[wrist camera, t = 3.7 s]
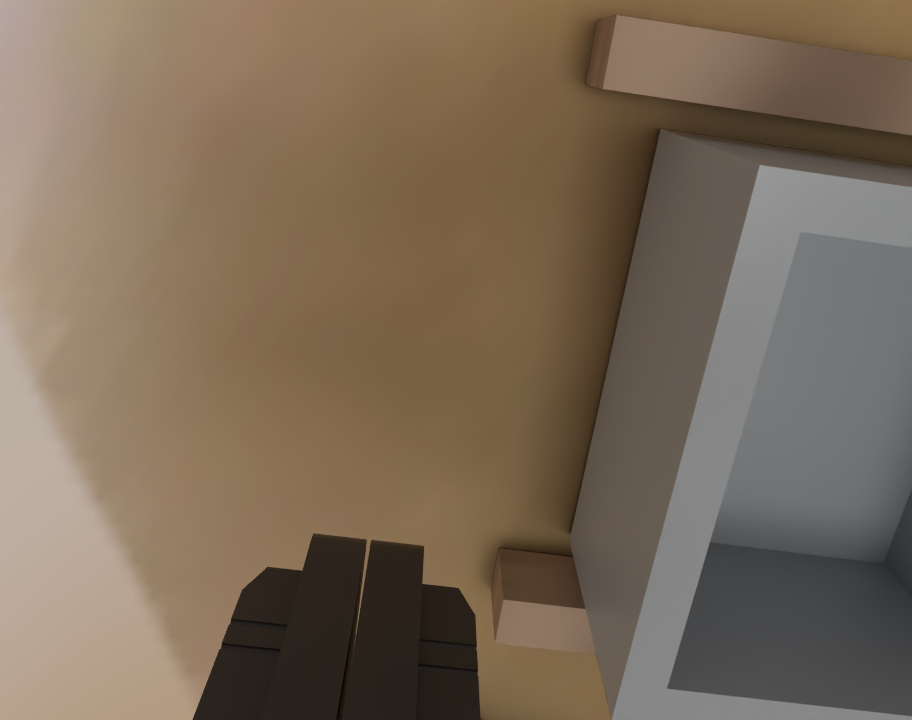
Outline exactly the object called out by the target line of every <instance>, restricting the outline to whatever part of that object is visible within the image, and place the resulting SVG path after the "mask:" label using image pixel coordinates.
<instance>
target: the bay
mask: <svg viewBox="0 0 912 720" xmlns="http://www.w3.org/2000/svg"><path fill="white" fill-rule="evenodd" d="M585 85H588V86H592V87H596V88H601V89H606V90H613V91H619V92H626V93H633V94H639V95H646V96H653V97H659V98H666V99H673V100H679V101H686V102H693V103H699V104H706V105H713V106H719V107H726V108H733V109H739V110H746V111H753V112H759V113H766V114H773V115H779V116H786V117H793V118H799V119H806V120H813V121H819V122H826V123H833V124H839V125H846V126H853V127H859V128H866V129H873V130H879V131H886V132H893V133H899V134H906V135H912V61H911V60H904V59H898V58H891V57H885V56H878V55H872V54H865V53H859V52H853V51H846V50H840V49H833V48H827V47H820V46H814V45H807V44H801V43H794V42H788V41H782V40H775V39H769V38H762V37H756V36H749V35H743V34H736V33H730V32H723V31H717V30H711V29H704V28H698V27H691V26H685V25H678V24H672V23H665V22H659V21H652V20H646V19H640V18H633V17H627V16H620V15H615V16H611V17H607V18H602V19H598V20H597V25H596V31H595V36H594V41H593V47H592V52H591V57H590V63H589V68H588V74H587V79H586V84H585ZM491 593H492V608H493V623H494V637H495V644H504V645H513V646H522V647H530V648H539V649H548V650H557V651H565V652H574V653H583V654H592V655H596V651H595V647H594V643H593V639H592V634H591V630H590V626H589V622H588V617H587V613H586V609H585V605H584V600H583V596H582V592H581V588H580V584H579V579H578V575H577V571H576V567H575V562H574V558H573V557H569V556H561V555H552V554H544V553H536V552H527V551H519V550H510V549H502V548H499V550H498V555H497V561H496V566H495V571H494V577H493V582H492V587H491Z"/></svg>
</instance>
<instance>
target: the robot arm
mask: <svg viewBox="0 0 912 720" xmlns="http://www.w3.org/2000/svg"><path fill="white" fill-rule="evenodd" d="M366 543H367V540H366V539H357V538H348V537H340V536H331V535H322V534H313V536H312V539H311V543H310V546H309V550H308V553H307V557H306V560H305V564H304V567H303V571H299V570H290V569H281V568H273V567H267V568H266V569H265V570H264V571H263V572H262V573H260V574H259V575H258V576H257V577H256V578H255V579H254V580H253V581H252V582H250V583H249V584H248V585H247V586H246V587H245V588H244V589H243V590H242V592H241V594H240V597H239V600H238V602H237V605H236V608H235V610H234V613H233V615H232V618H231V623H230V625H229V626H228V628H227V631H226V634H225V636H224V639H223V642H222V646H221V649H219V652H218V655H217V657H216V660H215V662H214V665H213V668H212V670H211V673H210V676H209V678H208V681H207V683H206V686H205V689H204V691H203V694H202V696H201V699H200V702H199V704H198V707H197V710H196V712H195V715H194V717H193V720H480V704H479V683H478V676H477V673H478V662H477V651H476V646H477V641H476V621H475V614H474V612H473V611H472V609H471V608H470V606H469V604H468V603H467V601H466V599H465V598H464V596H463V595H462V593H461V591H460V590H459V588H453V587H444V586H435V585H426V584H422V578H423V558H424V546H420V545H411V544H402V543H394V542H385V541H376V540H371V545H370V551H369V558H368V564H367V570H366V577H365V583H364V589H363V596H362V602H361V608H360V615H359V621H358V627H357V620H358V611H359V603H360V594H361V586H362V578H363V569H364V561H365V552H366ZM356 628H357V634H356ZM355 636H356V640H355ZM354 644H355V647H354ZM353 651H354V653H353Z"/></svg>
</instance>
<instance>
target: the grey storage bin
mask: <svg viewBox="0 0 912 720" xmlns="http://www.w3.org/2000/svg"><path fill="white" fill-rule="evenodd" d="M569 541H570V545H571V550H572V554H573V558H574V562H575V567H576V571H577V575H578V579H579V584H580V588H581V592H582V596H583V600H584V605H585V609H586V613H587V617H588V622H589V626H590V630H591V634H592V639H593V643H594V647H595V651H596V656H597V660H598V664H599V668H600V672H601V677H602V681H603V685H604V689H605V694H606V698H607V702H608V706H609V711H610V715H611V719H612V720H912V166H908V165H901V164H895V163H888V162H881V161H874V160H868V159H861V158H854V157H847V156H841V155H834V154H827V153H820V152H813V151H807V150H800V149H793V148H786V147H780V146H773V145H766V144H759V143H753V142H746V141H739V140H732V139H726V138H719V137H712V136H705V135H699V134H692V133H685V132H678V131H672V130H665V129H660V134H659V138H658V143H657V147H656V152H655V156H654V161H653V165H652V170H651V174H650V179H649V183H648V188H647V192H646V197H645V201H644V206H643V211H642V215H641V220H640V224H639V229H638V233H637V238H636V242H635V247H634V251H633V256H632V260H631V265H630V269H629V274H628V278H627V283H626V287H625V292H624V296H623V301H622V305H621V310H620V314H619V319H618V323H617V328H616V332H615V337H614V341H613V346H612V350H611V355H610V359H609V364H608V368H607V373H606V377H605V382H604V386H603V391H602V395H601V400H600V404H599V409H598V413H597V418H596V423H595V427H594V432H593V436H592V441H591V445H590V450H589V454H588V459H587V463H586V468H585V472H584V477H583V481H582V486H581V490H580V495H579V499H578V504H577V508H576V513H575V517H574V522H573V526H572V531H571V535H570V540H569Z"/></svg>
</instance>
